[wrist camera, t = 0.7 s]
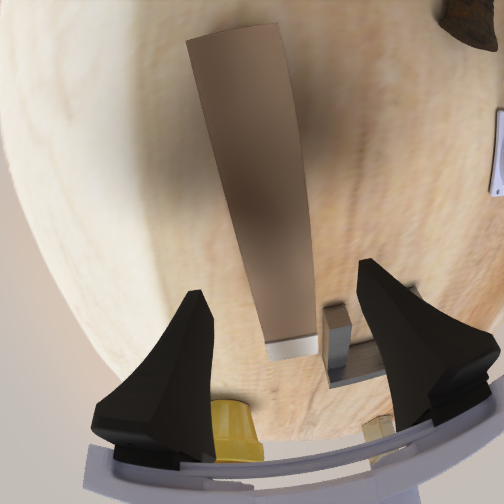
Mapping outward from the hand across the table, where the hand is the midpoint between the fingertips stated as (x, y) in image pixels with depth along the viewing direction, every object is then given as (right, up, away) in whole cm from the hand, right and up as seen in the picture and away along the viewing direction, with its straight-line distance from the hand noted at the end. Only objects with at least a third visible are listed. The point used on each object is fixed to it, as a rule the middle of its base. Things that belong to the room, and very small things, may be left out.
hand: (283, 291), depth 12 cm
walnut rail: (0, +5, +5) cm, 7 cm away
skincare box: (+27, -37, +37) cm, 59 cm away
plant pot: (-5, -21, +24) cm, 33 cm away
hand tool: (+13, +24, -7) cm, 29 cm away
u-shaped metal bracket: (+10, -6, +14) cm, 18 cm away
